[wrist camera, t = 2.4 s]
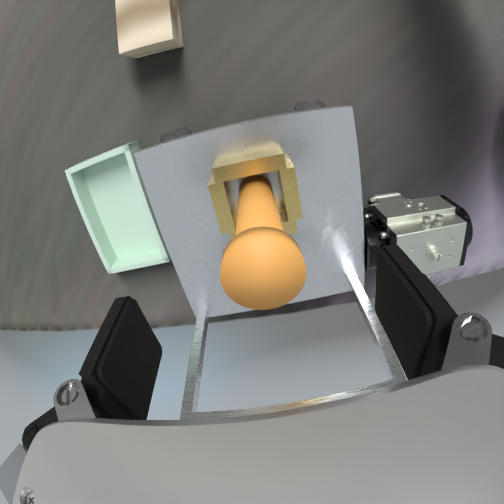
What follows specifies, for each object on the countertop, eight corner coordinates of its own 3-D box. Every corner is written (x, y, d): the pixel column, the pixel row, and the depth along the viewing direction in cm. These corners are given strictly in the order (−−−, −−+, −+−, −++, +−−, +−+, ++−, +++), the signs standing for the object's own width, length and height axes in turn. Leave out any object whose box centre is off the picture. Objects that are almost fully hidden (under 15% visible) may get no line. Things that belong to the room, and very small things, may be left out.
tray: (78, 163, 28) (64, 170, 25) (138, 139, 27) (127, 144, 24) (117, 260, 34) (108, 274, 32) (175, 248, 34) (169, 261, 31)
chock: (131, -4, 19) (115, -16, 15) (177, -16, 19) (166, -32, 15) (136, 58, 23) (119, 53, 19) (183, 47, 23) (173, 38, 19)
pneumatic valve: (423, 217, 32) (479, 268, 21) (339, 231, 33) (376, 296, 22) (425, 175, 29) (490, 216, 19) (335, 186, 30) (379, 236, 20)
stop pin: (227, 173, 20) (209, 248, 11) (274, 163, 20) (300, 230, 10) (238, 215, 22) (231, 315, 12) (282, 206, 22) (310, 301, 12)
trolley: (163, 132, 27) (32, 206, 9) (320, 98, 25) (456, 113, 7) (207, 271, 35) (181, 433, 17) (339, 245, 34) (411, 394, 16)
